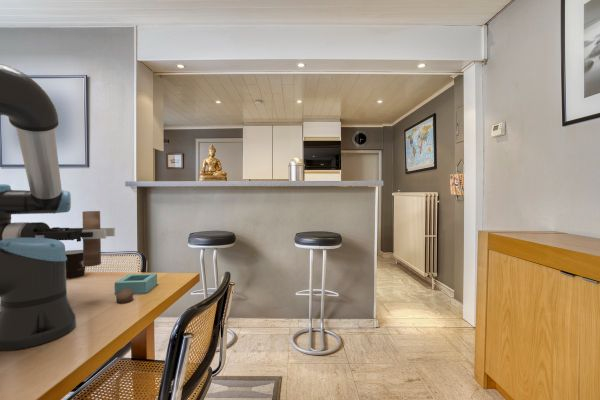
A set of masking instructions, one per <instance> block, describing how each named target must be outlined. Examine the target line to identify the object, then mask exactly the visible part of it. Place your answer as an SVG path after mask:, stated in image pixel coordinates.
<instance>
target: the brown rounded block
mask: <svg viewBox="0 0 600 400" xmlns="http://www.w3.org/2000/svg"><path fill="white" fill-rule="evenodd" d="M115 297H116V300H115V301H116V303H117V304H126V303H130V302H132V301H133V300H134V294H133V290H132V289H124V290H120V291H118V292H116V295H115Z"/></svg>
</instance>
